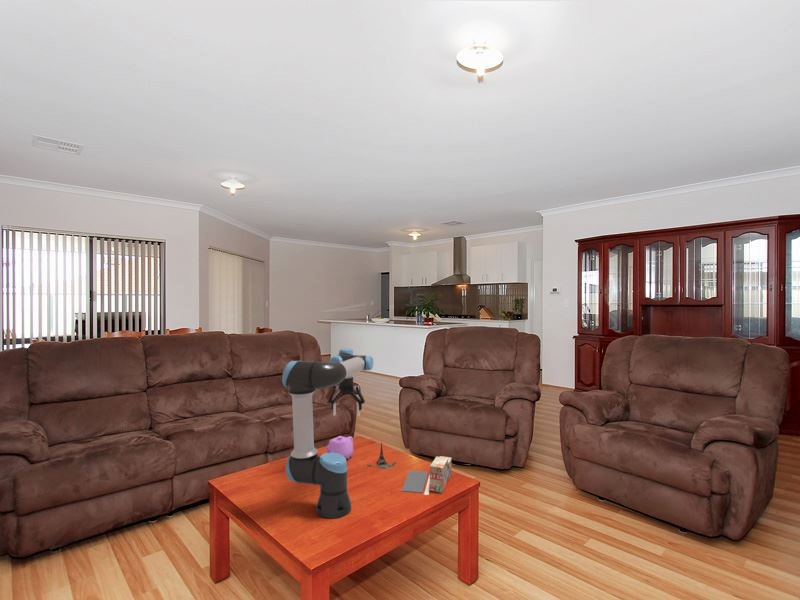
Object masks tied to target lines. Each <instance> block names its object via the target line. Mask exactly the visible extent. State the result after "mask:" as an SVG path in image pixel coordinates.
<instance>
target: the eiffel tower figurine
mask: <svg viewBox="0 0 800 600" xmlns="http://www.w3.org/2000/svg"><path fill="white" fill-rule="evenodd" d="M396 464H397V462H393V463H391V464H389V463H387V461H386V459H385V457H384V452H383V442H382V441H381V442H380V453H379V457H378V459H377V461H376V462H375V466H374V465H371V464H366V465H365V467H372V468H379V469H392V468H393V467H394V466H395V465H396Z"/></svg>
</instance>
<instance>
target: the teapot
mask: <svg viewBox="0 0 800 600" xmlns="http://www.w3.org/2000/svg"><path fill="white" fill-rule="evenodd" d="M325 447H326V453H338V454H341V455H343V456H344V457H345V458H346V460H349V459H351V457H352V456H353V454H354V438H353V436H351V435H349V436H347V437H346V436H342V435H339V436H337V437H334V438H332V439H329V441H328V444H327V445H326V446H325Z"/></svg>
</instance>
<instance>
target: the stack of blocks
mask: <svg viewBox="0 0 800 600" xmlns="http://www.w3.org/2000/svg"><path fill="white" fill-rule="evenodd" d="M452 460H453V459H452V457H450V456H441V455H439V456H435V458H434V460H433V461H432V463H431V464H430V465H429V475H430V483H429V492H433V493H438V492H439V493H438V494H442V493H443V492H444V490H445V488H446V486H447V484H448V482H449V480H450V478H451V476H452V465H453V464H452V462H453V461H452ZM442 491H443V492H442Z"/></svg>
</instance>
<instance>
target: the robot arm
mask: <svg viewBox="0 0 800 600" xmlns="http://www.w3.org/2000/svg"><path fill="white" fill-rule="evenodd" d="M338 351H339V352H338V354H335V355H333V356H331V357H330V358H329V360H328V362H326V361H309V360H291V361H290V362H288V363H287V364H286V366H285V367H284V369H283V372H282V377H281V378H282V380H281V382H282V385H283V387H285V388H287V389H288V391H287V392H288V394H289V395H290V396H291V399H292V401H291V402H292V427H293V428H292V429H293V450H292V451H291V452H290V455H288V457H287V459H286V463H285V474H286V477H287V478H288V480H289V481H290V482H292V483H297V484H306V485H315V486H319V497H318V499H317V501H316V502H317V503H316V506H315V511H316V512H315V513H316V514H317V515H318V516H319V517H322V518H324V519H337V518H342V517H344V516H346V515H348V514H349V513H351V510H352V500H351V498H350V496H349V493H348V464H347V462H348V461H347V459H346V458H345V457H344V456H343V455H341V454H338V453H327V452H325V453H322V454H321V455H320V456H319V454H318V452H319V451H318V449H317V448H316V447H315V442H314V441H315V438H314V437H315V436H314V412H313V411H314V409H313V407H314V406H313V394H315V392H316V389H317V390H319V389H320V390H321V389H326V388H329V387H333V390H332V392H331V394H330V396H329V398H328V400H327V402H328V403H330V404H331V405H330V406H331V410H332V416H333V417H335V416H336V415H337V403H336V401H337V400H338V398H340V396H341V395H342V394H343V395H350V396H352V398H353V399H354V400H355V402H356V403H357V407H356V408H357V409H356V410H357V411H356V413H357V418H359V417H360V416H361V411H362V407H363V405H364V403H366V400H365V398H364V395H363V394H362V391H361V390H360V385H355V386H354V374H357V373H359V372H361V371H365V372H366V371H371V370H372V369H373V367H374V358H373V356H371V355H366V354H365V355H362V354H361V355H357V354H356V355H354V350H353V349H352V348H347V347H346V348H340V349H339V350H338ZM337 390H339V392H338V393H337V395H336V396H335V394H336V392H337ZM355 391H356V393H357V394H356V393H355ZM334 396H335V397H334Z"/></svg>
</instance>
